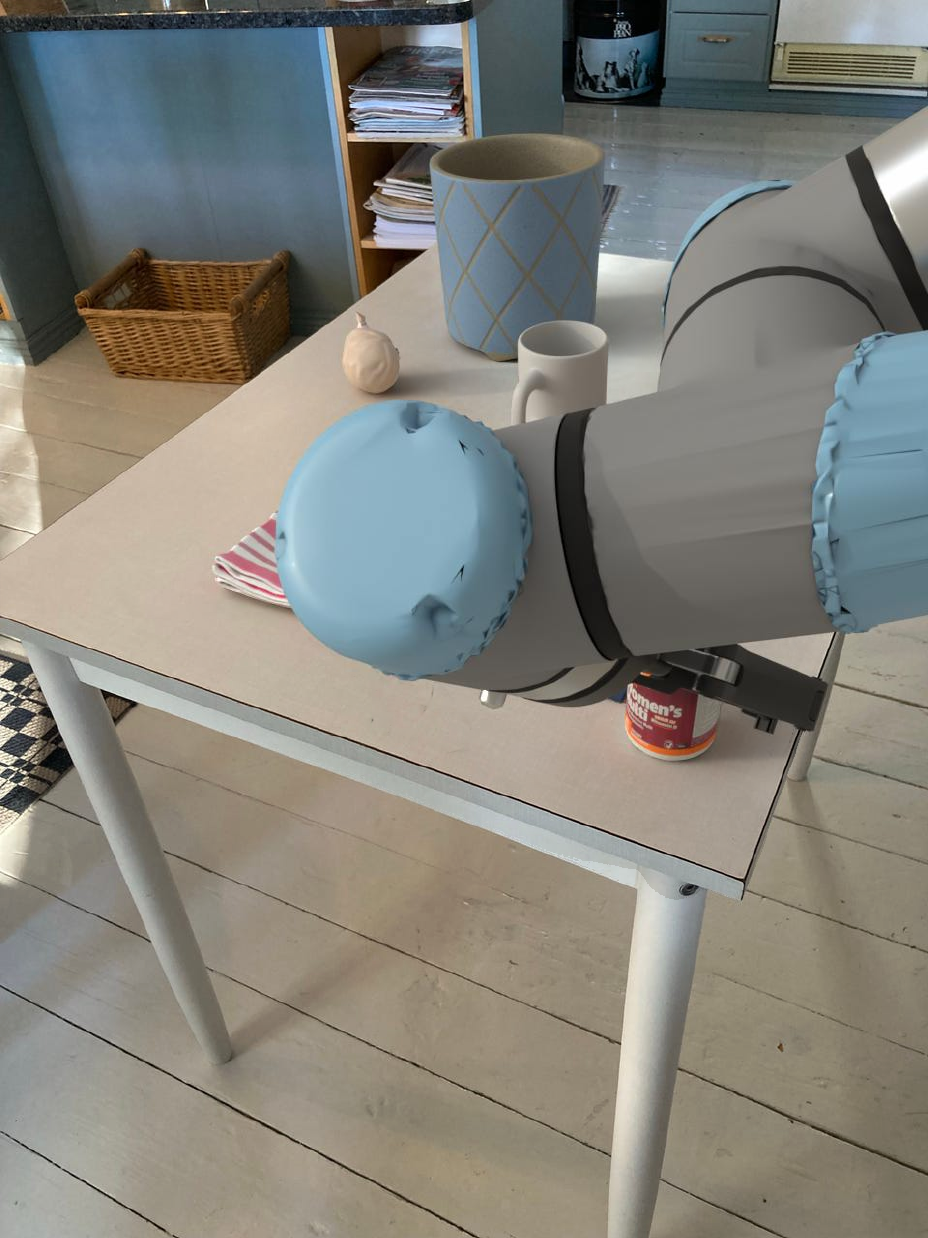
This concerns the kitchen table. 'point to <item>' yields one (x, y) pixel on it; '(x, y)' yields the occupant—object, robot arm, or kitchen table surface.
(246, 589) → the dish towel
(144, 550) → the kitchen table surface
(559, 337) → the mug
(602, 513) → the robot arm
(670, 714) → the pill bottle
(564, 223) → the planter
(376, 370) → the garlic bulb
